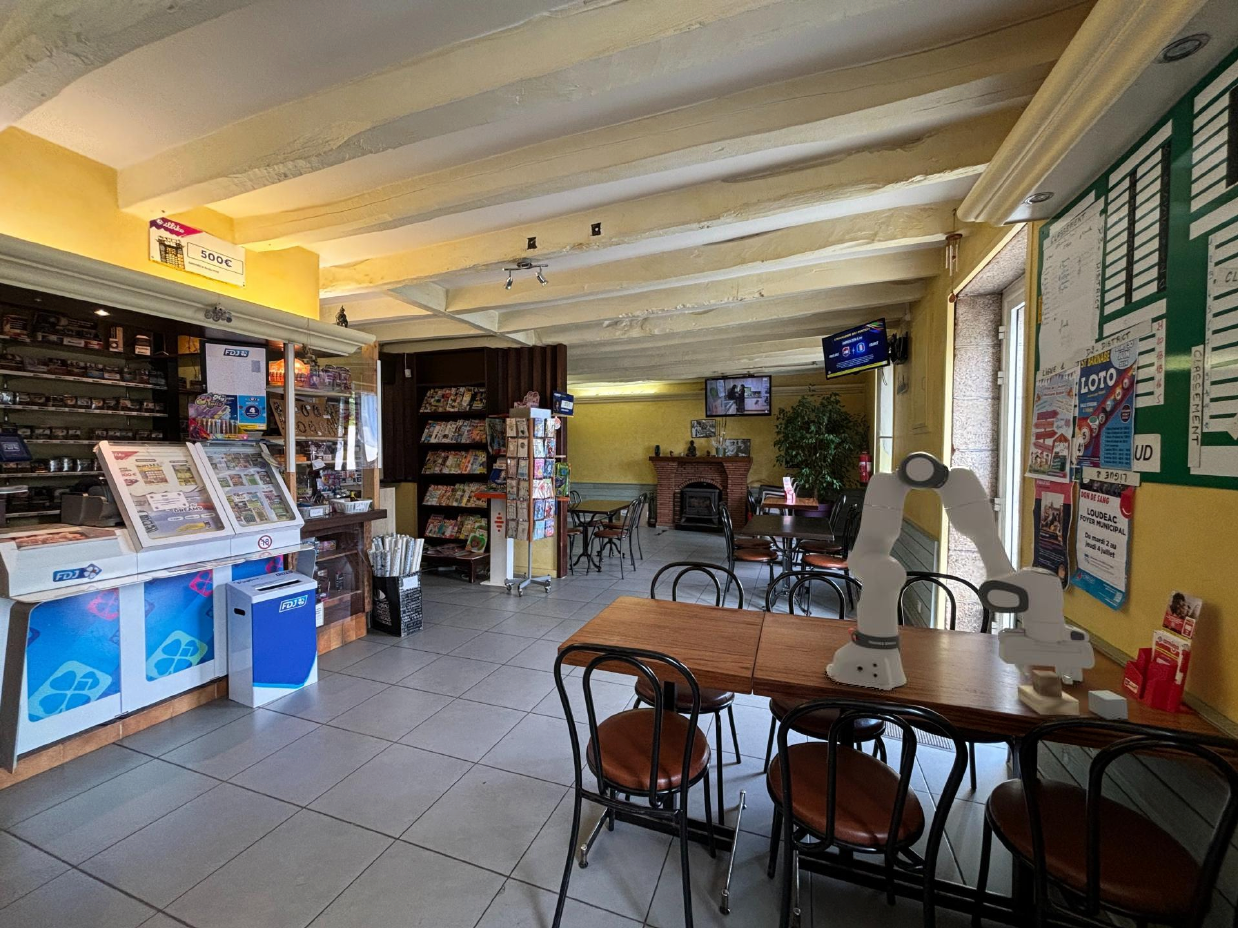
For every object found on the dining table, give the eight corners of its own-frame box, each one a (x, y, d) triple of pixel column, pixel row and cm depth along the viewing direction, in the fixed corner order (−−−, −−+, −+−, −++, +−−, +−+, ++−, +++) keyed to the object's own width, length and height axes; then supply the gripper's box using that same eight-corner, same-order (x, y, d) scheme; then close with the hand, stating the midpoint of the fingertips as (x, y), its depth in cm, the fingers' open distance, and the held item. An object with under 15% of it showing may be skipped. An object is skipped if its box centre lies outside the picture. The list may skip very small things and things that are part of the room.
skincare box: (1082, 677, 151) (1080, 636, 151) (1082, 682, 148) (1079, 640, 148) (1055, 672, 155) (1053, 632, 156) (1054, 677, 152) (1052, 636, 152)
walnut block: (1041, 695, 133) (1040, 676, 133) (1032, 688, 138) (1031, 670, 138) (1062, 697, 132) (1060, 677, 132) (1052, 689, 136) (1051, 671, 136)
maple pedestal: (1040, 715, 131) (1039, 700, 131) (1018, 700, 140) (1017, 685, 140) (1079, 716, 130) (1078, 700, 130) (1054, 700, 138) (1053, 685, 139)
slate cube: (1107, 719, 127) (1106, 699, 127) (1089, 710, 132) (1088, 690, 132) (1127, 719, 127) (1126, 698, 127) (1109, 709, 132) (1107, 690, 132)
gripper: (1002, 631, 135) (1005, 683, 135) (1096, 635, 129) (1100, 689, 129) (992, 624, 141) (995, 674, 141) (1082, 627, 135) (1085, 679, 135)
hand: (1046, 681), depth 135 cm, fingers open, 8 cm apart
